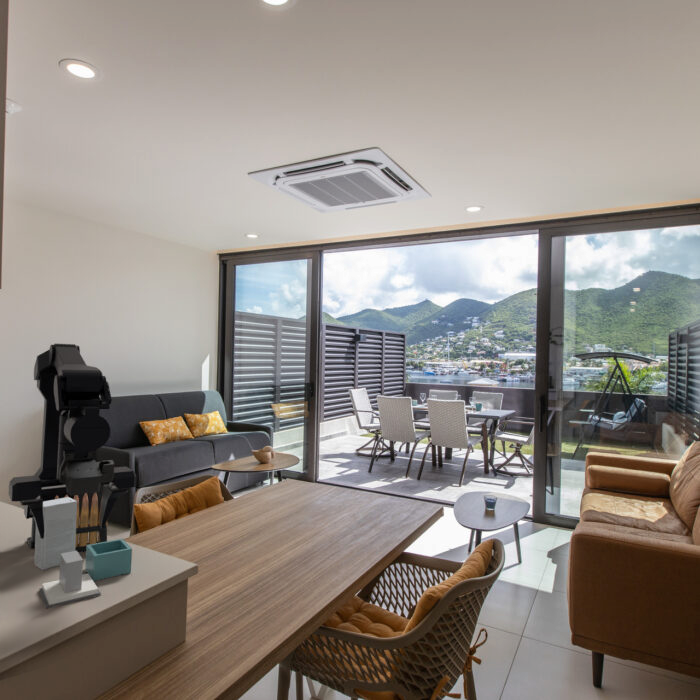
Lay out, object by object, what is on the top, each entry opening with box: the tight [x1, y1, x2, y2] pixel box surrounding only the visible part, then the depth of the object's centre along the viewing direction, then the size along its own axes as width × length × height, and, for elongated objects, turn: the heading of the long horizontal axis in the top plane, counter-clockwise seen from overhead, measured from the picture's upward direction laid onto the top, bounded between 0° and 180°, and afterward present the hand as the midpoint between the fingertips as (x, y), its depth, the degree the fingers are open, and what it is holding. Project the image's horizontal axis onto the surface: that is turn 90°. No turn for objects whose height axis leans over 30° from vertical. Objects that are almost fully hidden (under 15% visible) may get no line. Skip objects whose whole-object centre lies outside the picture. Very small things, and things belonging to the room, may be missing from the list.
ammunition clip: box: [54, 493, 108, 554], centre depth 104 cm, size 11×2×12 cm, turn 120°
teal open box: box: [84, 538, 133, 582], centre depth 95 cm, size 6×6×4 cm
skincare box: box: [34, 497, 77, 571], centre depth 98 cm, size 6×4×12 cm
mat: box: [38, 587, 102, 609], centre depth 86 cm, size 8×8×1 cm
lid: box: [41, 551, 99, 605], centre depth 86 cm, size 7×7×6 cm
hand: (73, 532), depth 86 cm, fingers open, 9 cm apart
